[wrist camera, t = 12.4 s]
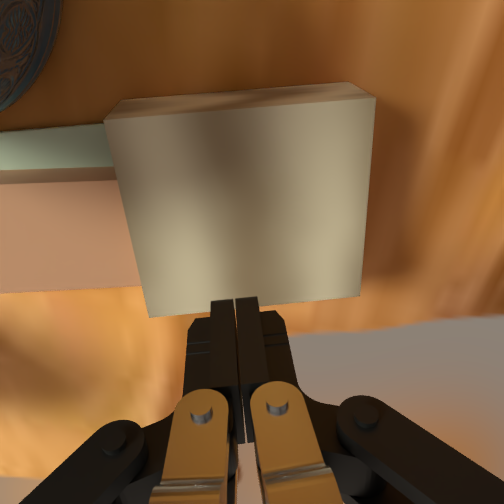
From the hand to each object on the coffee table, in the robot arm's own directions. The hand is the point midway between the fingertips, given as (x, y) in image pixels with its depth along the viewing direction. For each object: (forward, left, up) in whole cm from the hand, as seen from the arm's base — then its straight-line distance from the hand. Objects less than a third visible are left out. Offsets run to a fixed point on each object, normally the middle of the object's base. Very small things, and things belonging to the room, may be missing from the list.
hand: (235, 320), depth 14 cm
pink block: (+9, +1, -11) cm, 14 cm away
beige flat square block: (-1, 0, -11) cm, 11 cm away
